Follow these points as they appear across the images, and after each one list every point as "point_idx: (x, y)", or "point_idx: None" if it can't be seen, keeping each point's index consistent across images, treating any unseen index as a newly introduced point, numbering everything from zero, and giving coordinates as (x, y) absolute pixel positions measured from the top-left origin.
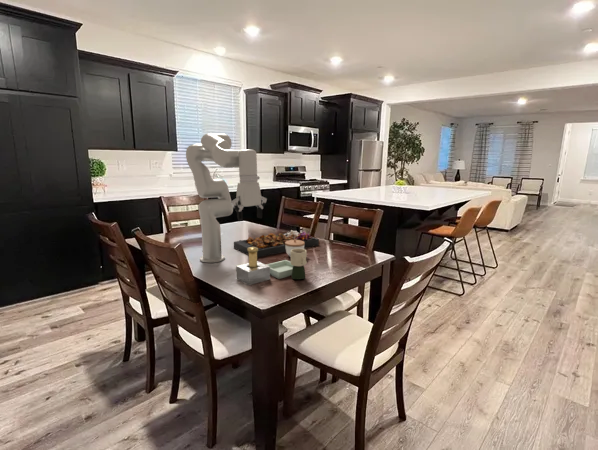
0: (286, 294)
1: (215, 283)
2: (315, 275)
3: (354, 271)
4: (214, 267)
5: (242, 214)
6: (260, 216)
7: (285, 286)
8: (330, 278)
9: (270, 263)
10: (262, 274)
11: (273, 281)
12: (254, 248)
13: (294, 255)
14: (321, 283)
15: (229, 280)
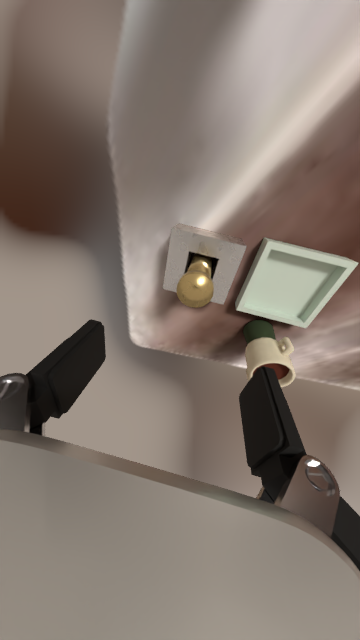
0: (183, 345)
1: (124, 204)
2: None
3: (344, 384)
4: (210, 6)
5: (77, 394)
6: (241, 406)
7: (208, 330)
8: None
9: (296, 248)
10: None
11: None
12: (196, 297)
13: (248, 368)
14: None
15: (160, 217)
